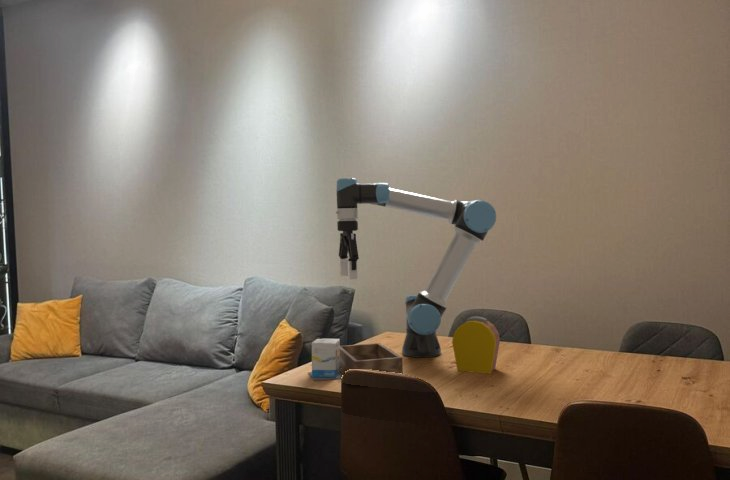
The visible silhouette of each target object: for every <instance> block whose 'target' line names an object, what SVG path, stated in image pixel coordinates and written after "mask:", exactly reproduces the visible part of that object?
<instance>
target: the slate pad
mask: <svg viewBox="0 0 730 480" xmlns="http://www.w3.org/2000/svg"><path fill="white" fill-rule="evenodd" d="M307 373H308V375H309V376H310V378H311V379H312V380H313V381H314V382H321V381H331V380H332V381H333V380H342V379H341V377H342V375H343V374H344V373H343V372H342V371H341V370H340V373H339V374H338V375H337V377H312V371H310V372H307Z"/></svg>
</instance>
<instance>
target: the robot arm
mask: <svg viewBox="0 0 730 480" xmlns="http://www.w3.org/2000/svg"><path fill="white" fill-rule="evenodd" d="M357 180H358V179H356V178H355V177H342V178H338V179H337V180H336V206H337V207H336V208H337V209H336V210H337V211H335V214H336V215H337V217H336V218H337V220H338V221H337V225H336V227H337V228H336V229H337V231H338V232H340V234H339V236H340V237H339V249H338V257H339V259H340V260H339V261H340V264H339V265H340V277H348V276H349V280H358V260H359V251H358V245H357V235H356V234H357V233H354V232H357V231H358V230H359V228H358V227H359V223H358V221H357V220H358V219H359V215H358V213H359V212H358V204H359V205H362V204H363V205H365V204H366V205H368V204H370V205H374V206H375V205H376V206H380V207H385V208H389V209H395V210H398V211H402V212H403V211H404V212H408V213H412V214H417V215H421V216H427V217H429V218H434V219H435V218H436V219H440V220H445V221H448V222H449V224H450V225H454V231H455V234H454V236H453V238H452V239H451V241H450V243H449V245H448V246H447V249H445V252H444V254H443V256H442V258H441V260H440V262H439V263H438V265H437V267H436V269H435V271H434V273H433V275H432V277H431V278H430V280H429V282H428V284H427V285H426V288H425V289H424V290H422V291H421V290H420V291H419V292H418V294H417V295H415V294H414V295H407V296H406V298H405V302H404V303H405V328H406V329H405V330H406V333H405V338H404V340H403V343H402V344H403V345H402V347H401V349H402V350H401V353H402V355H403V356H406V357H411V358H432V357H437V356H440V355H441V354H442V351H441V350H442V348H441V345H440V342H439V339H438V336H437V330H438V329H439V327H440V325H441V321H442V318H443V315H444V314H445V311H446V310H447V308H448V305H447V299H448V297H449V296H450V294H451V292H452V290H453V289H454V287H455V284H456V283H457V281H458V279H459V277H460V275H461V274H462V271H463V270H464V268H465V266H466V264H467V263H468V260H469V258H470V257H471V255H472V254H473V251H474V249H475V247H476V246H477V244H480V243H483V241H484V239H485V238H486V237H487V234H488V232H489V231H490V230H492V229H493V228H494V226H495V223H496V221H497V212H496V210H495V208H494V206H493V205H492V204H491V203H489V202H488V201H486V200H485V199H484V200H483V199H475V200H459V199H454V200H452V201H451V200H448V199H447V200H446V199H443V198H438V197H433V196H429V195H424V194H419V193H415V192H411V191H405V190H401V189H395V188H391V187H390V184H389V183H387V182H370V183H366V182H365V183H359V182H358V181H357Z"/></svg>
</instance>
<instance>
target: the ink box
mask: <svg viewBox="0 0 730 480" xmlns="http://www.w3.org/2000/svg"><path fill="white" fill-rule="evenodd" d="M340 340H341V339H340V338H316V339H315V340H313V341H312V342H311V372H312V377H337V375H338V374H339V373H340V371H341V368H340V346H341V343H340V342H341V341H340Z"/></svg>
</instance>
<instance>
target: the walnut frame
mask: <svg viewBox="0 0 730 480" xmlns="http://www.w3.org/2000/svg"><path fill="white" fill-rule="evenodd" d="M403 362H404V359H403V357H402V356H401V355H399V354H398V353H396V352H395V351H392V350H391V349H390V348H388V347H387V346H385V345H383V344H382V343H381V342H377V343H362V344H360V343H359V344H349V345H340V370H342V371H343V372H344V373H345V371H347V370H349V369H372V370H379V371H386V372H395V373H402V374H403V375H404V369H403V368H404V365H403Z"/></svg>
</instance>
